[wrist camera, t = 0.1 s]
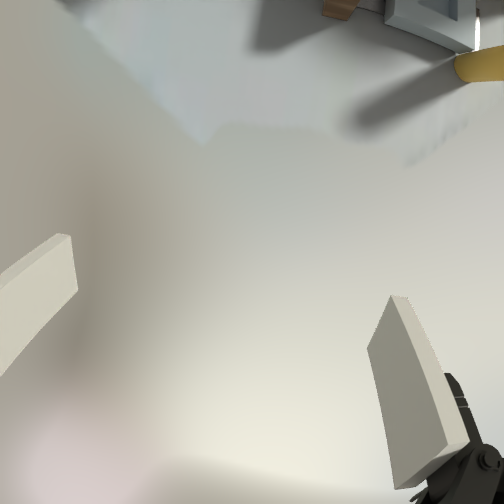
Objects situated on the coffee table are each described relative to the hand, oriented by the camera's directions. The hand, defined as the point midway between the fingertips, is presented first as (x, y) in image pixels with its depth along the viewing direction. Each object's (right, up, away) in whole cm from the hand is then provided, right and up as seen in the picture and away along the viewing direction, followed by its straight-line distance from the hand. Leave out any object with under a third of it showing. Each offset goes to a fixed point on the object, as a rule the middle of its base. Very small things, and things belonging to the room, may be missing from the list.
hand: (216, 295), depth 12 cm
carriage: (+23, +33, +13) cm, 42 cm away
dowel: (+29, +26, +15) cm, 42 cm away
